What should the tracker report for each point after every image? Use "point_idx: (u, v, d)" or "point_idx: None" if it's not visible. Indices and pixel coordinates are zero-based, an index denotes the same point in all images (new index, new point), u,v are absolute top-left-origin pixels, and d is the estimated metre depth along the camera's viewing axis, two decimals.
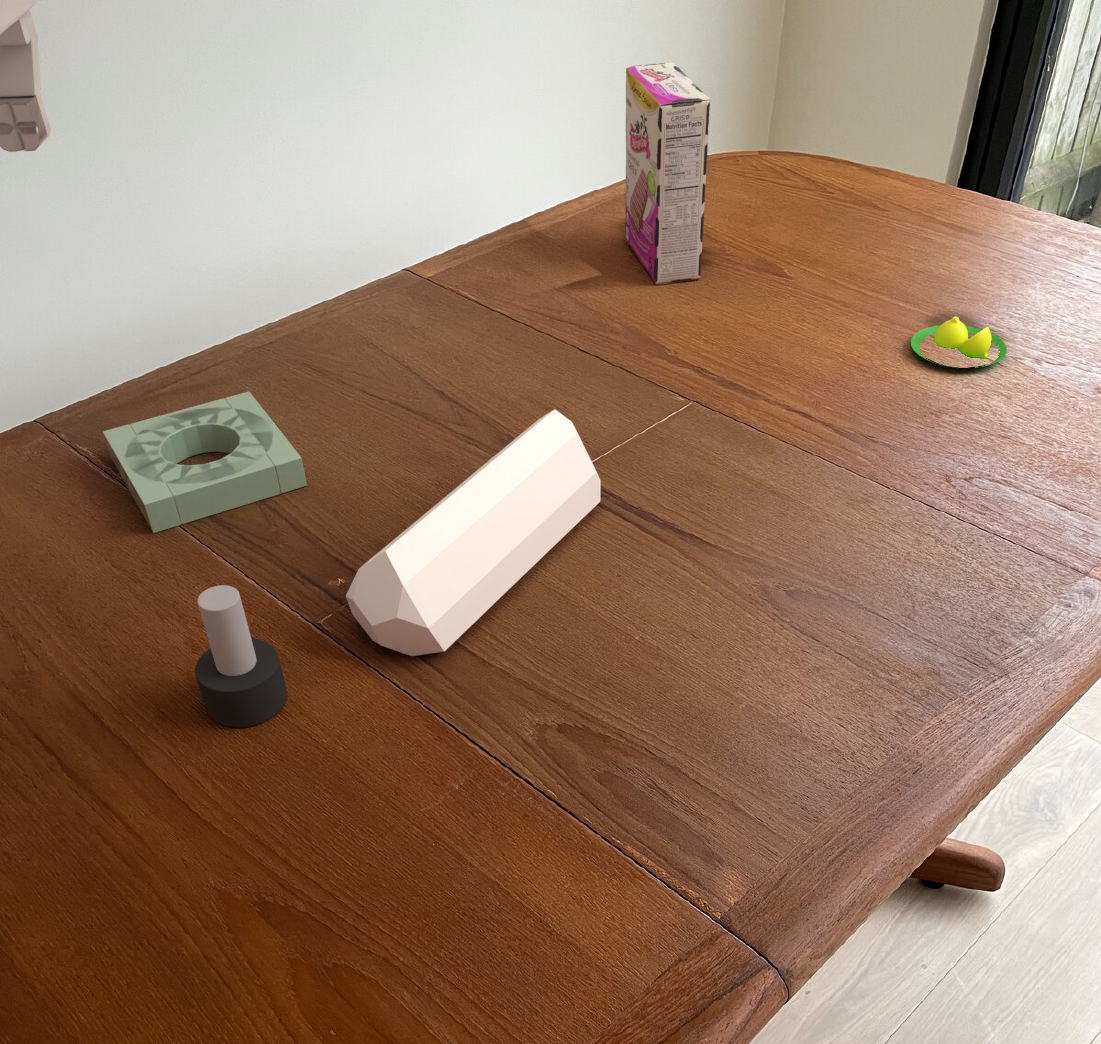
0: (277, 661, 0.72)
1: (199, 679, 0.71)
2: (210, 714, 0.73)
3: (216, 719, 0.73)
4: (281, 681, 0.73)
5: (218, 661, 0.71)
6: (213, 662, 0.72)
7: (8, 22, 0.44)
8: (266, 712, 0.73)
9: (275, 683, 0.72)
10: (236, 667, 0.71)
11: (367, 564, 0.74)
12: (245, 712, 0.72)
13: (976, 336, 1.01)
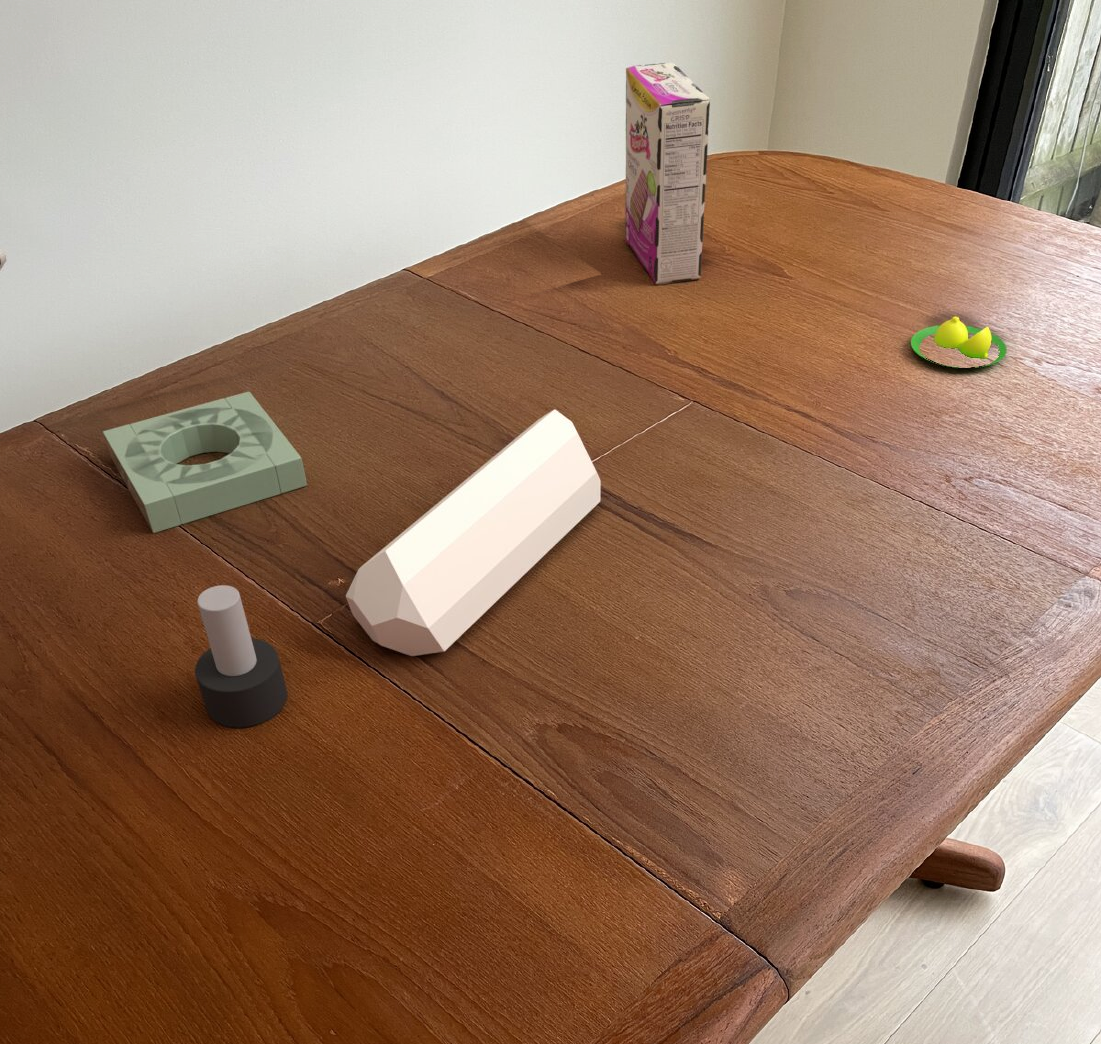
0: (277, 661, 0.72)
1: (199, 679, 0.71)
2: (210, 714, 0.73)
3: (216, 719, 0.73)
4: (281, 681, 0.73)
5: (218, 661, 0.71)
6: (213, 662, 0.72)
7: None
8: (266, 712, 0.73)
9: (275, 683, 0.72)
10: (236, 667, 0.71)
11: (367, 564, 0.74)
12: (245, 712, 0.72)
13: (976, 336, 1.01)
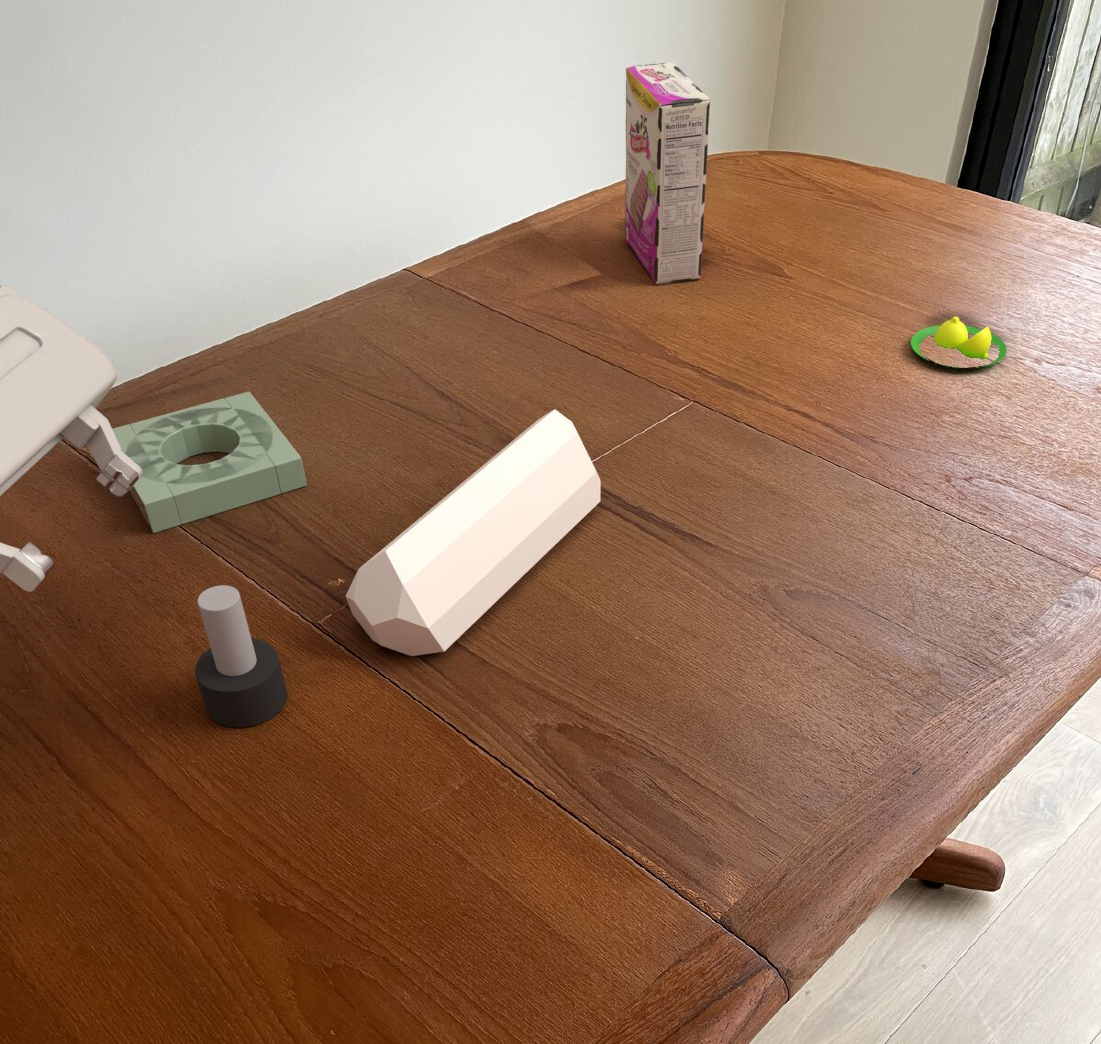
0: (277, 661, 0.72)
1: (199, 679, 0.71)
2: (210, 714, 0.73)
3: (216, 719, 0.73)
4: (281, 681, 0.73)
5: (218, 661, 0.71)
6: (213, 662, 0.72)
7: (50, 430, 0.67)
8: (266, 712, 0.73)
9: (275, 683, 0.72)
10: (236, 667, 0.71)
11: (367, 564, 0.74)
12: (245, 712, 0.72)
13: (976, 336, 1.01)
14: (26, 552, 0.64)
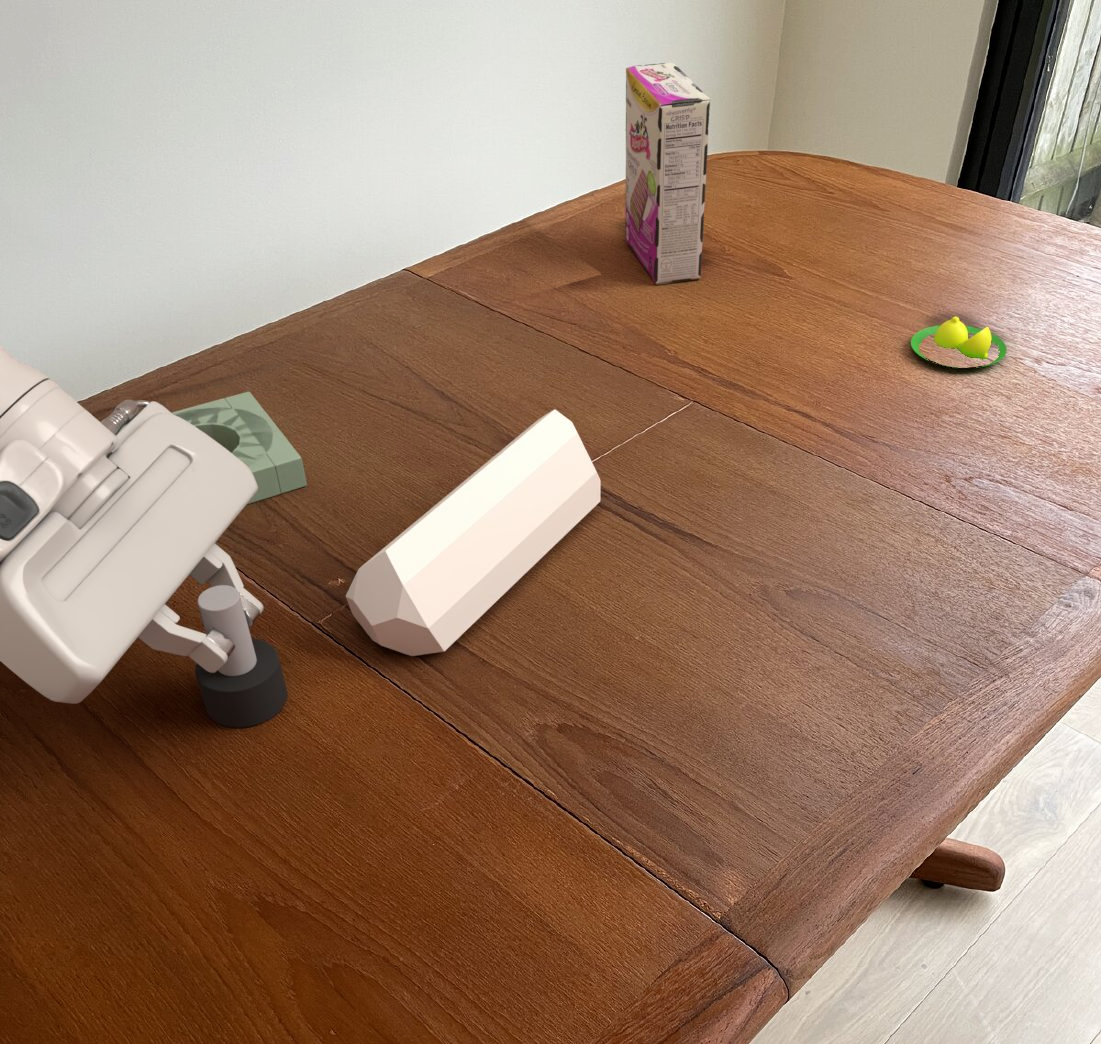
0: (277, 661, 0.72)
1: (199, 679, 0.71)
2: (210, 714, 0.73)
3: (216, 719, 0.73)
4: (281, 681, 0.73)
5: None
6: None
7: (204, 547, 0.70)
8: (266, 712, 0.73)
9: (275, 683, 0.72)
10: (236, 667, 0.71)
11: (367, 564, 0.74)
12: (245, 712, 0.72)
13: (976, 336, 1.01)
14: (212, 637, 0.69)
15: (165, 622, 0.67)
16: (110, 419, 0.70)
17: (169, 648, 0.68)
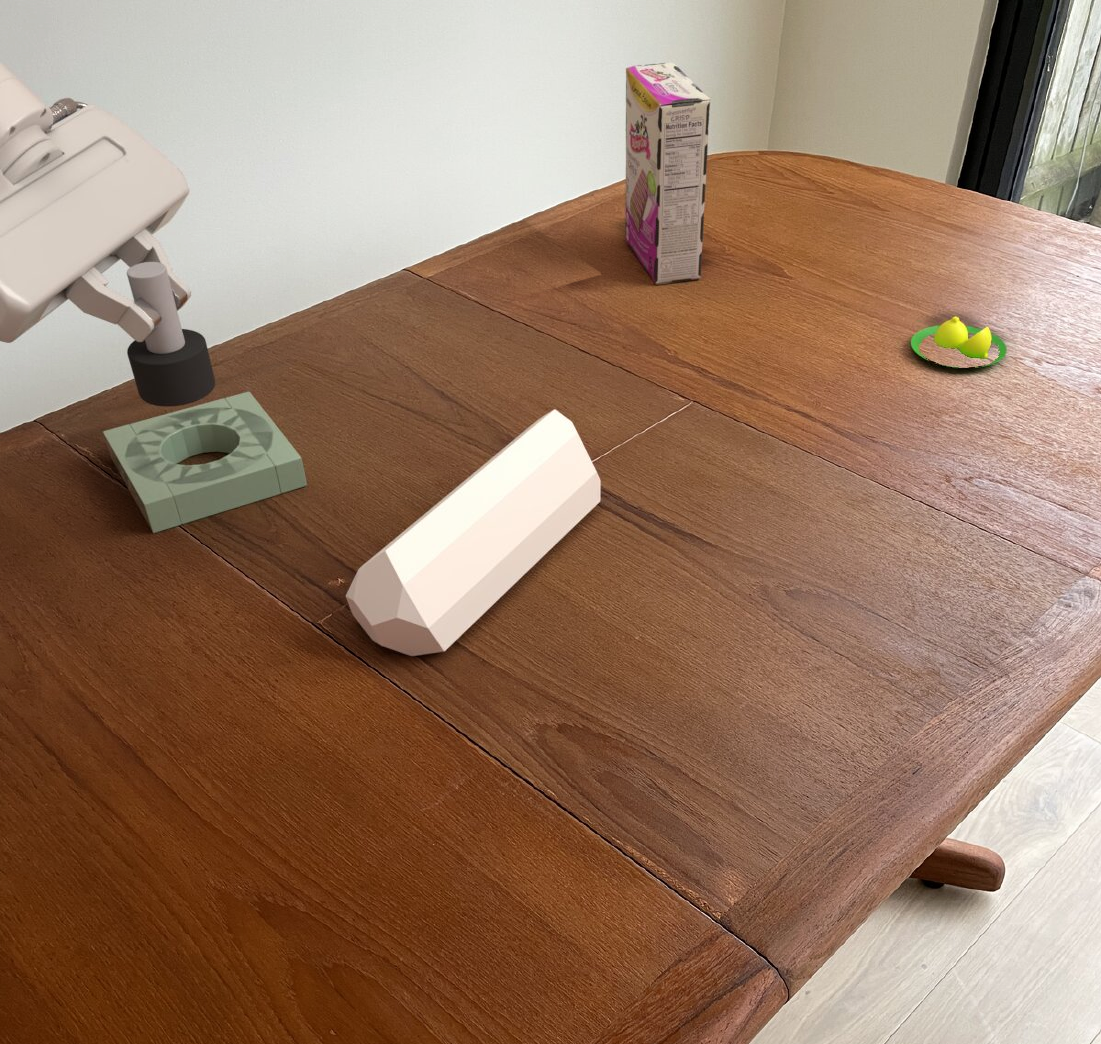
0: (204, 344, 0.78)
1: (131, 356, 0.77)
2: (142, 395, 0.78)
3: (147, 399, 0.78)
4: (208, 365, 0.78)
5: (148, 337, 0.76)
6: (144, 345, 0.78)
7: (134, 226, 0.75)
8: (193, 392, 0.78)
9: (201, 364, 0.78)
10: (164, 344, 0.76)
11: (367, 564, 0.74)
12: (173, 389, 0.77)
13: (976, 336, 1.01)
14: (139, 304, 0.74)
15: (94, 283, 0.72)
16: None
17: (99, 313, 0.73)
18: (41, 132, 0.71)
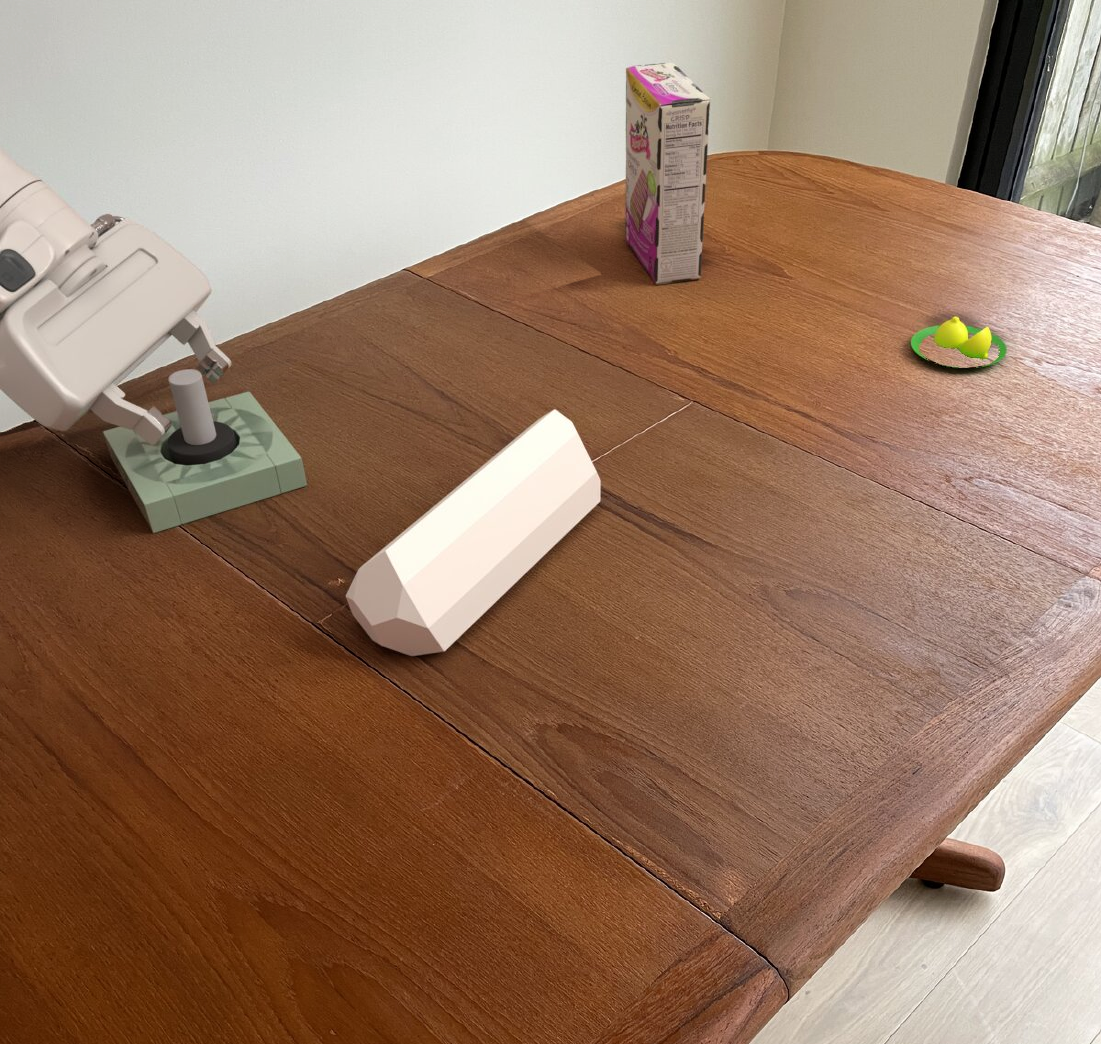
0: (232, 435, 0.92)
1: (171, 447, 0.91)
2: None
3: None
4: None
5: (185, 432, 0.90)
6: (182, 436, 0.92)
7: (166, 326, 0.88)
8: None
9: (231, 452, 0.92)
10: (199, 437, 0.90)
11: (367, 564, 0.74)
12: None
13: (976, 336, 1.01)
14: (152, 413, 0.85)
15: (113, 396, 0.83)
16: (92, 226, 0.89)
17: (117, 421, 0.84)
18: (89, 251, 0.84)
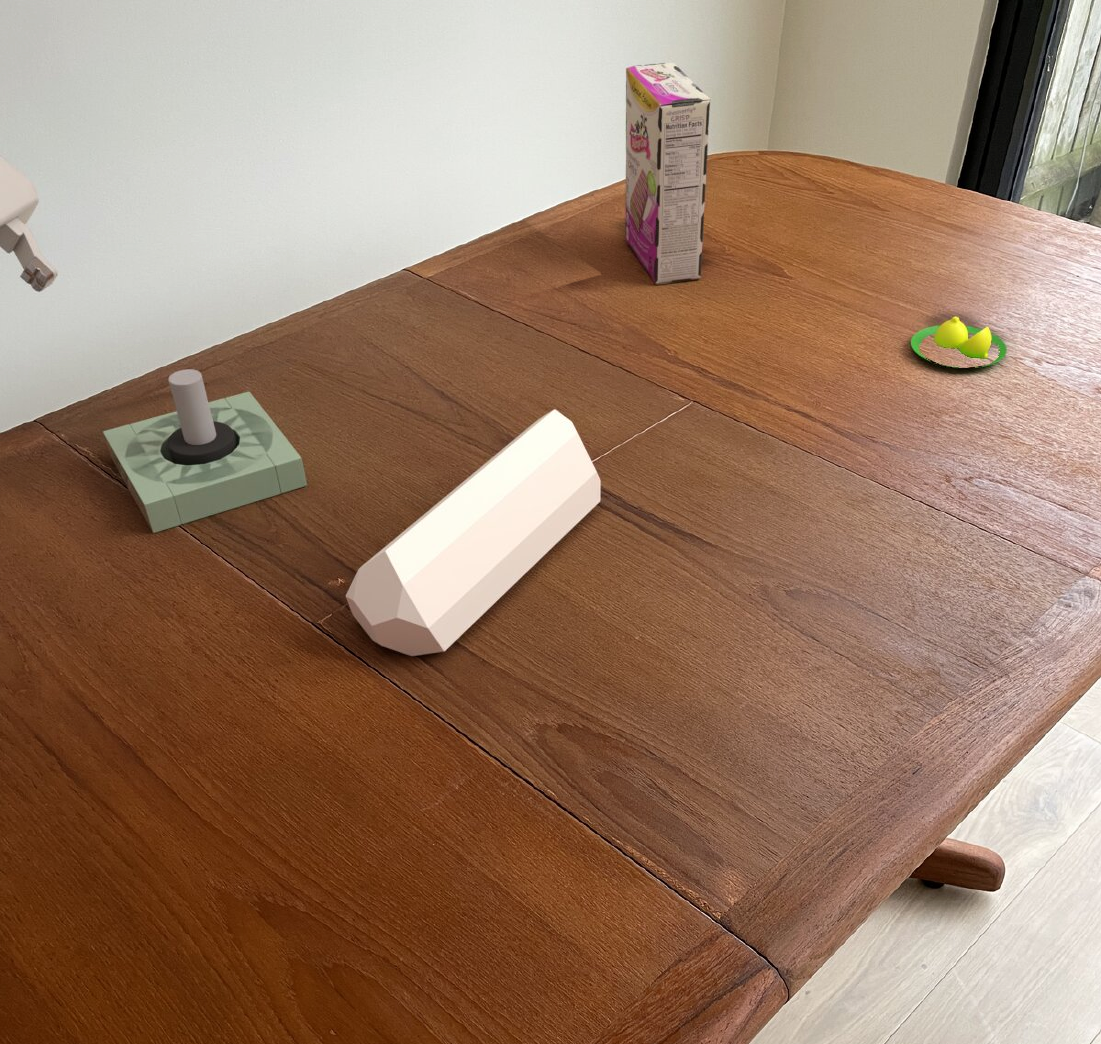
0: (232, 435, 0.92)
1: (171, 447, 0.91)
2: None
3: None
4: None
5: (185, 432, 0.90)
6: (182, 436, 0.92)
7: None
8: None
9: (231, 452, 0.92)
10: (199, 437, 0.90)
11: (367, 564, 0.74)
12: None
13: (976, 336, 1.01)
14: None
15: None
16: None
17: None
18: None
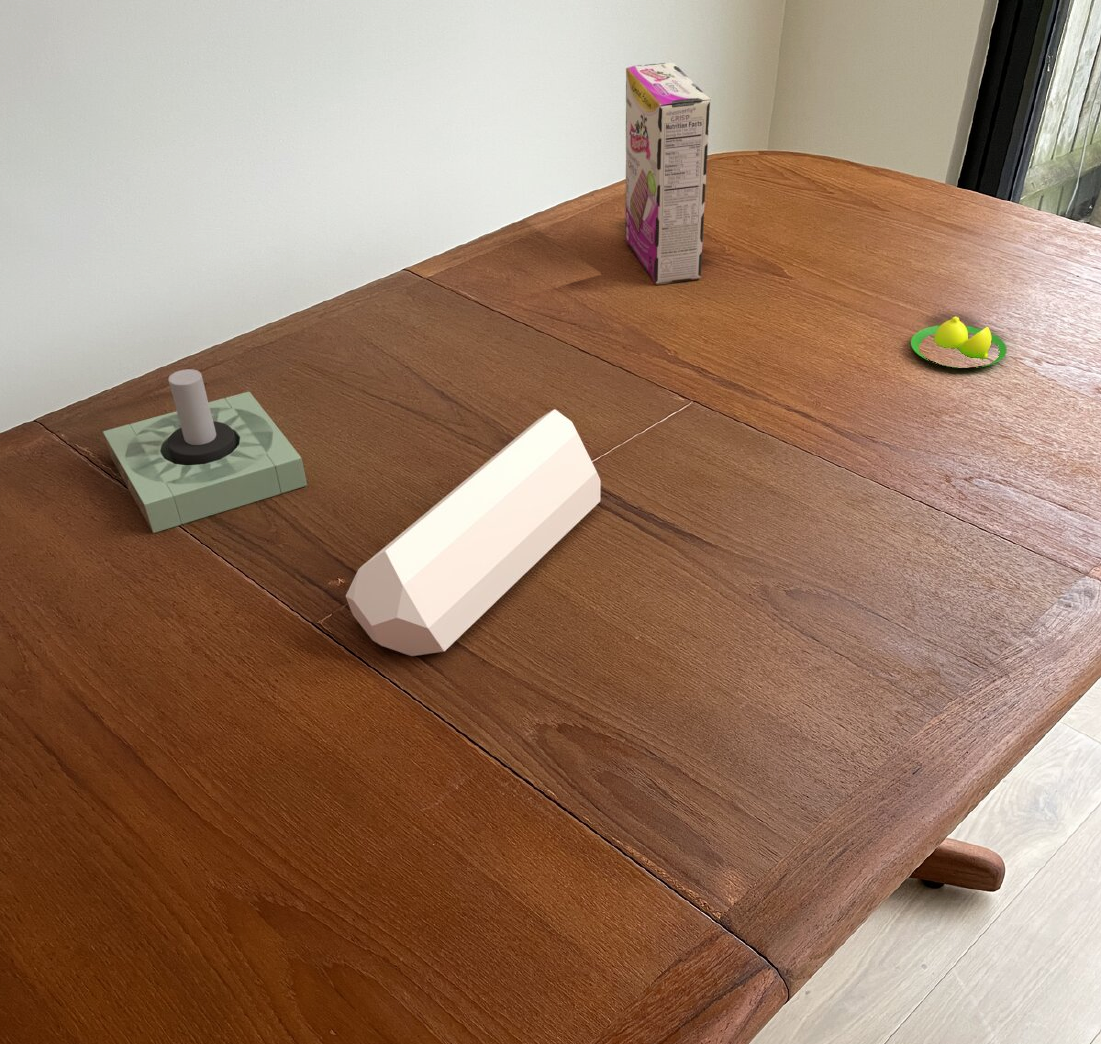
0: (232, 435, 0.92)
1: (171, 447, 0.91)
2: None
3: None
4: None
5: (185, 432, 0.90)
6: (182, 436, 0.92)
7: None
8: None
9: (231, 452, 0.92)
10: (199, 437, 0.90)
11: (367, 564, 0.74)
12: None
13: (976, 336, 1.01)
14: None
15: None
16: None
17: None
18: None
